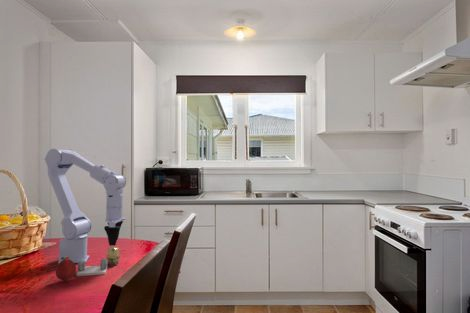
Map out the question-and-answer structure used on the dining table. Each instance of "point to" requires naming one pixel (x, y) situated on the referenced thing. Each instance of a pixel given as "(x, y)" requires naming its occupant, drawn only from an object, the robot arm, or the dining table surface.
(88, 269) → the fitting
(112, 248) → the cylinder
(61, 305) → the dining table surface
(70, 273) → the onion
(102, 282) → the dining table surface
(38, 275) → the dining table surface
